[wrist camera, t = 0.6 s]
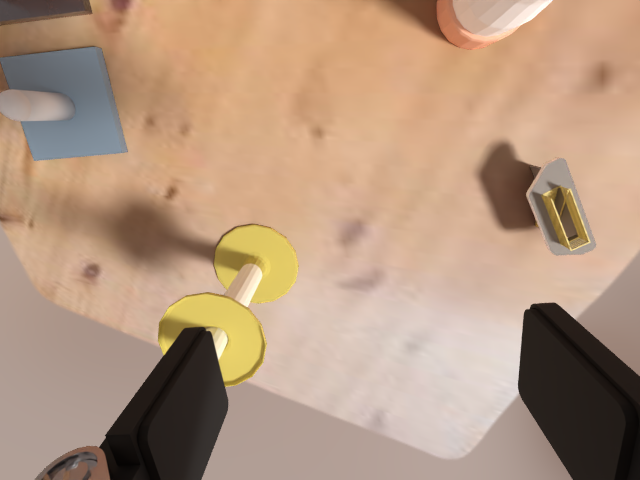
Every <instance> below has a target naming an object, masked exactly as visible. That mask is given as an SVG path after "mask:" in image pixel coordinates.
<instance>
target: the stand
mask: <svg viewBox="0 0 640 480" xmlns="http://www.w3.org/2000/svg"><path fill="white" fill-rule="evenodd" d="M86 14H92V10H91V6H90V2H89V0H0V25H6V24H14V23H22V22H30V21H38V20H46V19H54V18H62V17H70V16H78V15H86Z"/></svg>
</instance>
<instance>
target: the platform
mask: <svg viewBox="0 0 640 480" xmlns="http://www.w3.org/2000/svg"><path fill="white" fill-rule="evenodd" d="M530 168H531V171H532V173H533V176H534V178H535V179H534V181H533V183H532V184H531V186H530V188H529V189H528V191H527V193H526V197H527V199H528V201H529V204H530V206H531V209H532V211H533V214H534V216H535V220H536V222H535V226H536V227H538V228H539V229H540V231H541V233H542V236H543V238H544V241H545V243H546V246H547V248H548V250H549V251H550V252H551V253H553V254H554V255H579V254H584V253H587V252H589V251H591V250H593V249H594V248H595V247H596V243H595V240H594V237H593V234H592V231H591V229H590V226H589V223H588V220H587V218H586V215H585V212H584V209H583V207H582V204H581V201H580V198H579V196H578V193H577V190H576V187H575V185H574V182H573V179H572V176H571V173H570V171H569V168H568V165H567V162H566V160H565V159H563V158H555V159H553V160H551V161H549V162H547V163H545V164H544V165H543V166H542V168H541V167H537V166H533V165H530ZM567 237H568V238H567Z"/></svg>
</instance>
